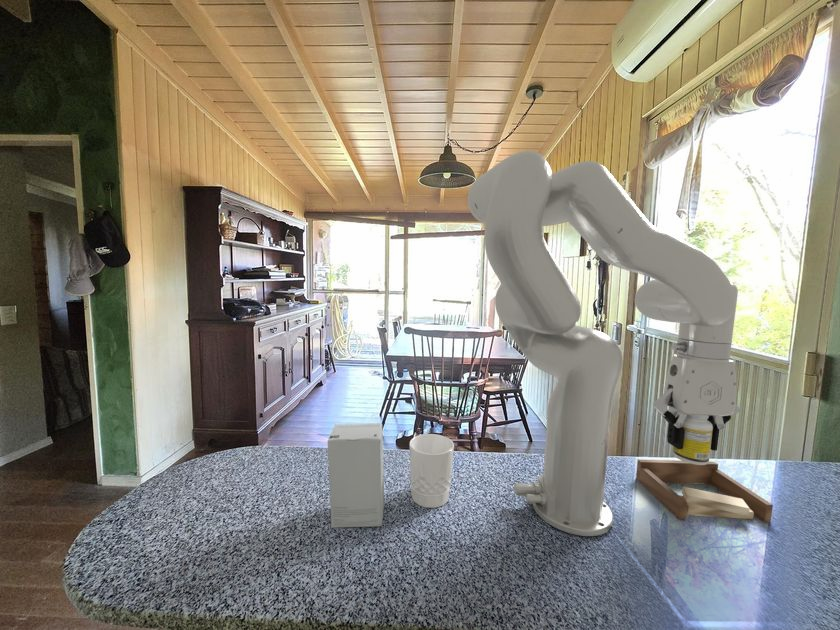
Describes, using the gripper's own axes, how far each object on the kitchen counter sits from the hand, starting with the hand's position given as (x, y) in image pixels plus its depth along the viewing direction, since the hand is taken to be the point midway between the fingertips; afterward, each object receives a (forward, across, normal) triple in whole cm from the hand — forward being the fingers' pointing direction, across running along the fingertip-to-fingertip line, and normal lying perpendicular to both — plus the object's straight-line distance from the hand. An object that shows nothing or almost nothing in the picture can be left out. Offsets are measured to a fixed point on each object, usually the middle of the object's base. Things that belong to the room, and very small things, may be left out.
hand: (691, 445), depth 66 cm
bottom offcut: (+10, 0, -5) cm, 12 cm away
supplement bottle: (+3, 0, 0) cm, 3 cm away
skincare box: (+10, -60, -9) cm, 62 cm away
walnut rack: (+9, 0, -3) cm, 10 cm away
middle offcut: (+9, +1, -5) cm, 11 cm away
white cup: (+10, -48, -3) cm, 49 cm away
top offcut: (+8, 0, -6) cm, 10 cm away
